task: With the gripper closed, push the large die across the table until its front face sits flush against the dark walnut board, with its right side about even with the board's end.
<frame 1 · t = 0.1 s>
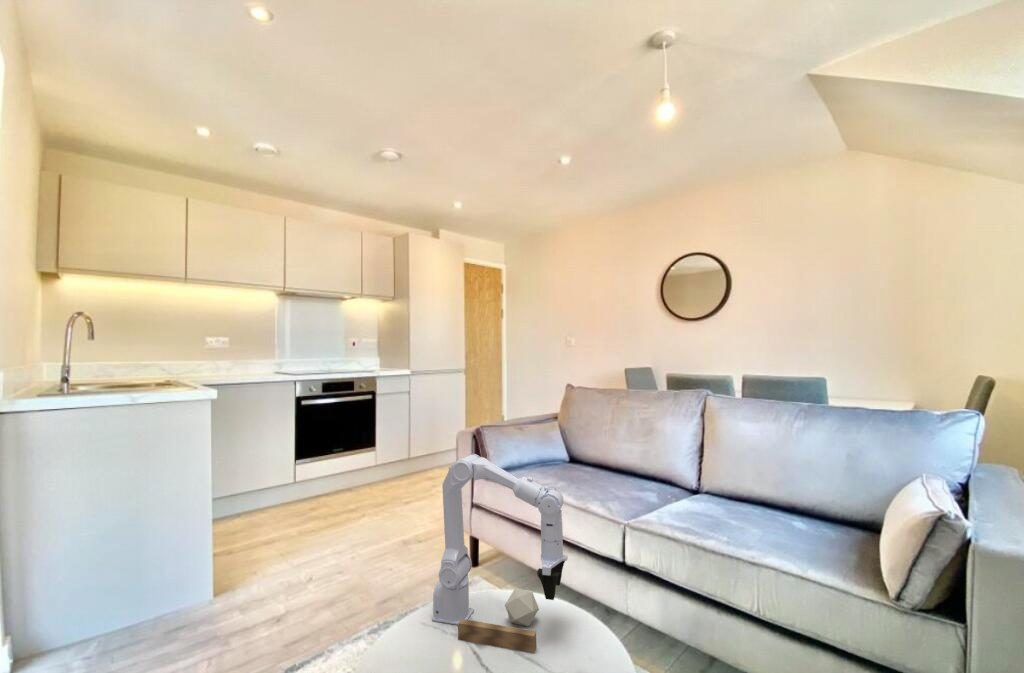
hand: (552, 591, 113), 10 cm above the table, tool pointing down, fingers open, 7 cm apart
walnut board: (496, 643, 108), on the table
die: (522, 622, 117), on the table
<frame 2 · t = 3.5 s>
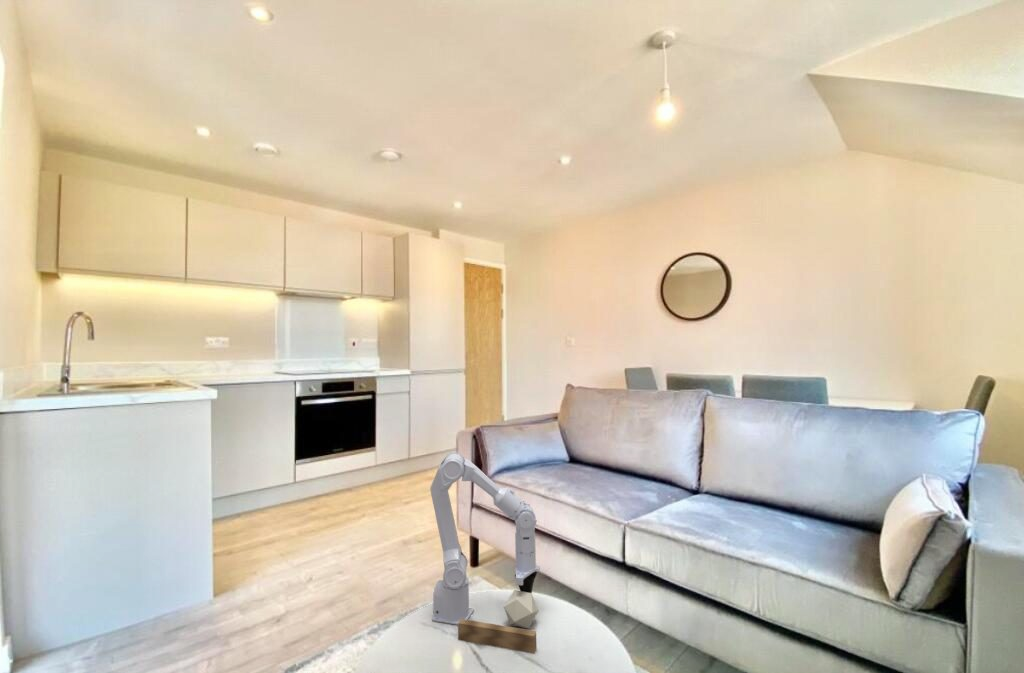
hand: (526, 599, 122), 3 cm above the table, tool pointing down, fingers closed
die: (521, 624, 116), on the table, touching gripper
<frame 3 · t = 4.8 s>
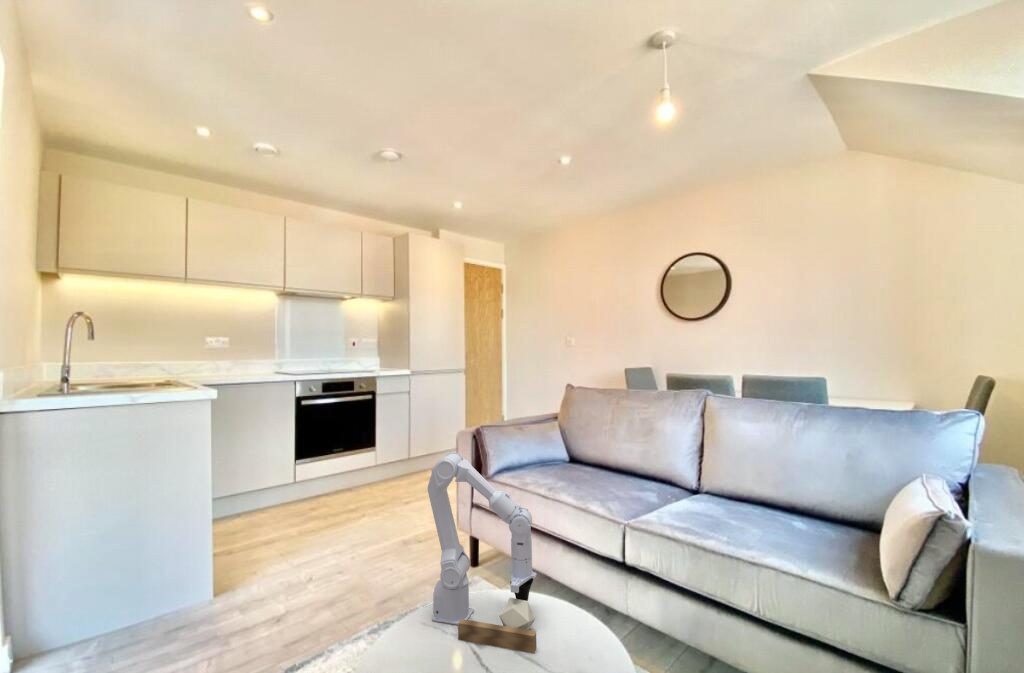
hand: (522, 607, 118), 3 cm above the table, tool pointing down, fingers closed
die: (517, 633, 112), on the table, touching gripper
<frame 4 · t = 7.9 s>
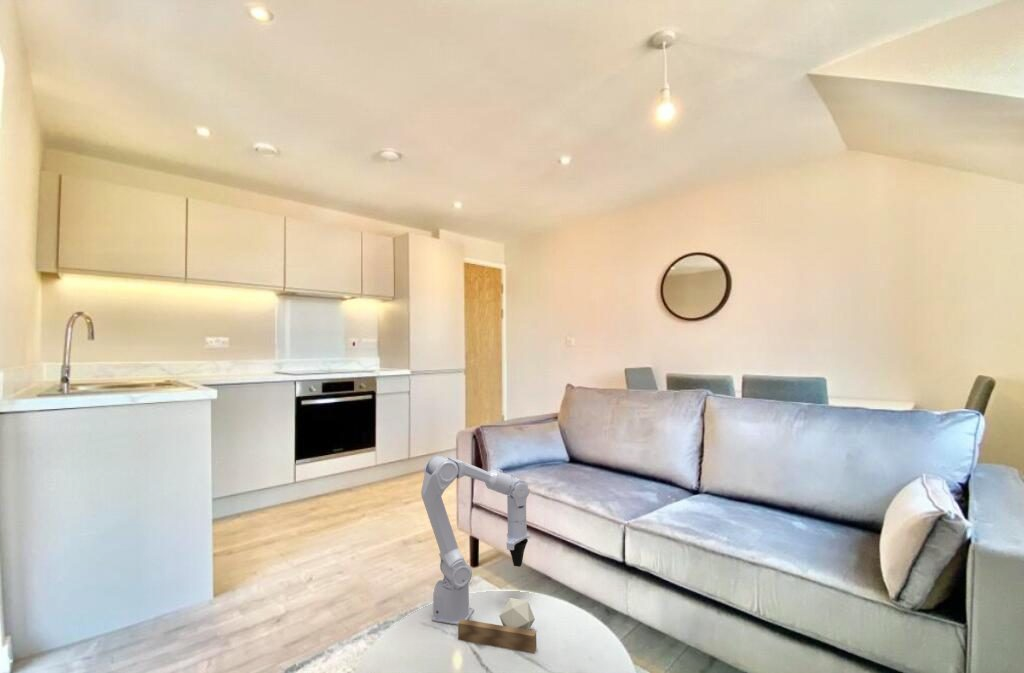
hand: (517, 565, 130), 9 cm above the table, tool pointing down, fingers closed
die: (517, 633, 112), on the table
at the end: die 2.3 cm from the target spot on the table beside the walnut board, on the table; die tilted 1°; die moved 5.1 cm from its start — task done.
